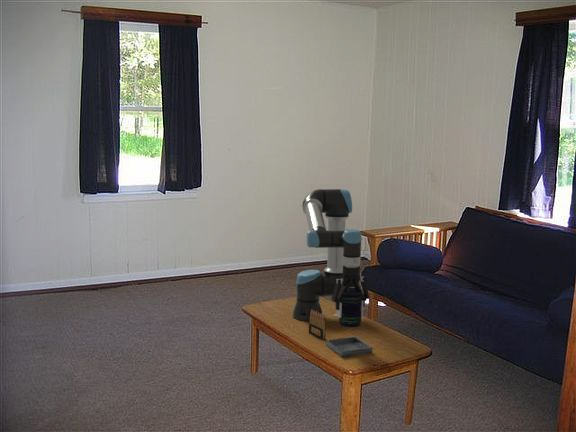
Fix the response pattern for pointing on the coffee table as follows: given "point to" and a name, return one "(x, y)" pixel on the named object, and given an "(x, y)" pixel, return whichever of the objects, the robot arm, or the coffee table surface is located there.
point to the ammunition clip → (317, 325)
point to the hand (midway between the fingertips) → (349, 315)
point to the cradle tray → (349, 346)
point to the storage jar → (351, 308)
